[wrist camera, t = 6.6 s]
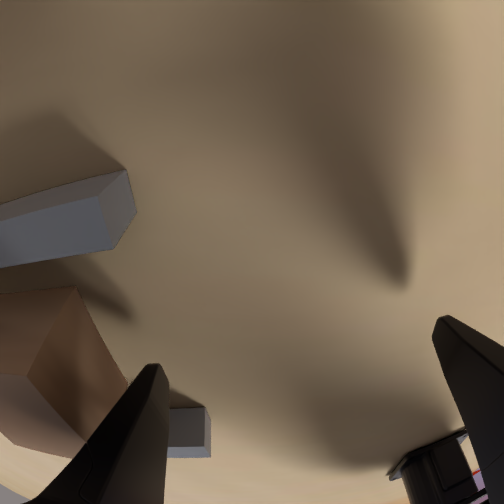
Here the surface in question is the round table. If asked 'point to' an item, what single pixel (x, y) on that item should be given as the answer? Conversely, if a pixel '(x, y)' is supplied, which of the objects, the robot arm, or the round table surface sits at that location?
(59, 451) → the walnut block
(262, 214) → the round table surface
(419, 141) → the round table surface
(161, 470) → the robot arm
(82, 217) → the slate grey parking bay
